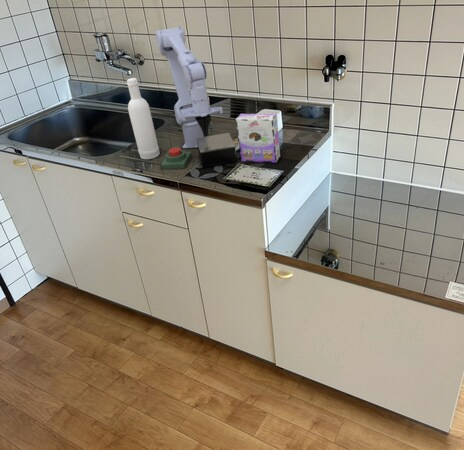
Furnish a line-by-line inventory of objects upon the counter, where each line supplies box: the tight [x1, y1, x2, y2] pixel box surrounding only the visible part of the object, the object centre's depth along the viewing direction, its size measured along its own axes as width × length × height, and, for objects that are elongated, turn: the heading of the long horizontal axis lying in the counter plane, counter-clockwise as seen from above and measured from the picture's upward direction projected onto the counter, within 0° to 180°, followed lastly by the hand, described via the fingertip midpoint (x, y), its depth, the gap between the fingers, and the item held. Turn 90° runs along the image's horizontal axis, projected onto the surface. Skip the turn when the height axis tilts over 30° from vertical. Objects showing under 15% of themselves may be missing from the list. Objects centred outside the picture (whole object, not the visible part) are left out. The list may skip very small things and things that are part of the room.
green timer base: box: [160, 148, 192, 170], centre depth 176 cm, size 11×9×4 cm
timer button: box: [168, 147, 182, 157], centre depth 175 cm, size 4×4×2 cm
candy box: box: [235, 113, 281, 164], centre depth 167 cm, size 14×6×16 cm, turn 71°
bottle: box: [126, 77, 161, 160], centre depth 177 cm, size 8×8×30 cm
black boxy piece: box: [196, 140, 238, 170], centre depth 174 cm, size 12×13×6 cm
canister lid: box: [196, 132, 236, 153], centre depth 172 cm, size 13×13×1 cm
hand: (205, 135), depth 170 cm, fingers closed
